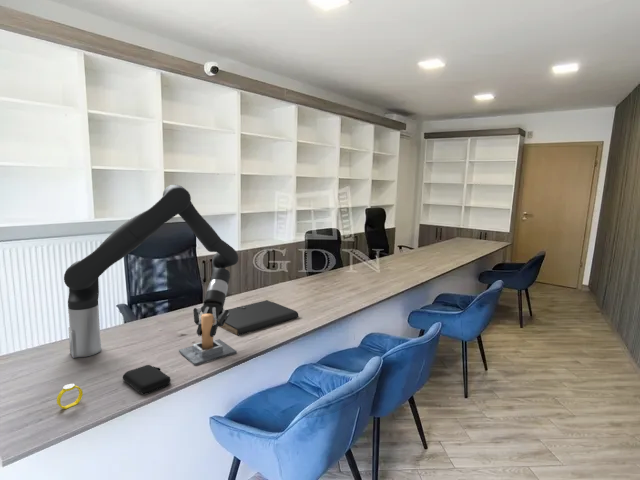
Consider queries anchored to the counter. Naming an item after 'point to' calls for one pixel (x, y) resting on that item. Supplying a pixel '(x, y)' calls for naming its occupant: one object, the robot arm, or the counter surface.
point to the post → (206, 330)
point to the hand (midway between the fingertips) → (205, 335)
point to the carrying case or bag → (146, 379)
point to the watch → (68, 388)
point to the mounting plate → (207, 352)
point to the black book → (256, 317)
